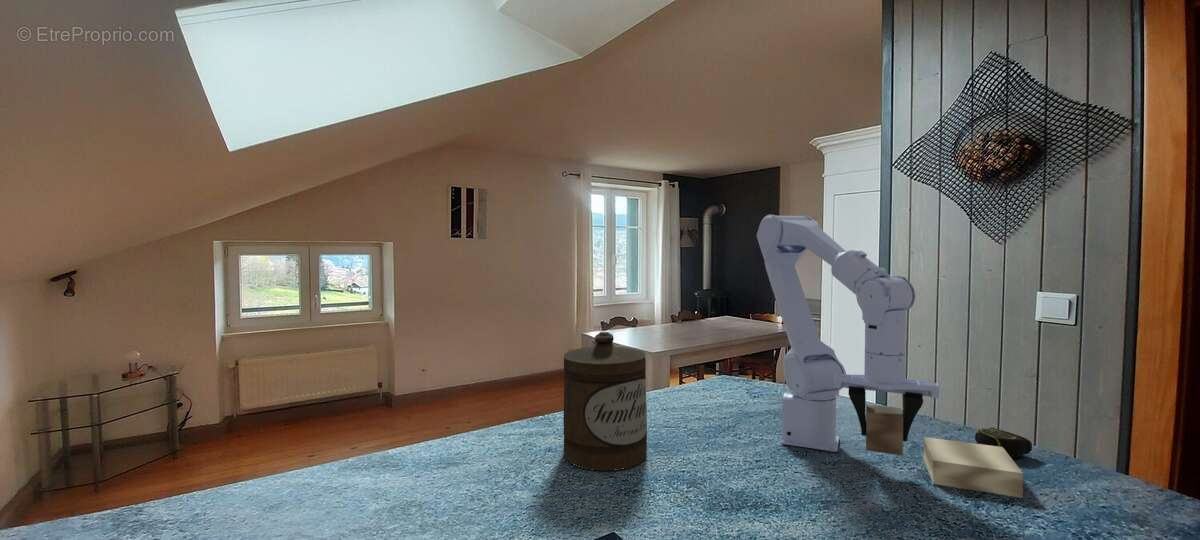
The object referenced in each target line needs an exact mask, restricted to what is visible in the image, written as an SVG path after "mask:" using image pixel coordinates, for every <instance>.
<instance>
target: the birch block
mask: <svg viewBox="0 0 1200 540" xmlns="http://www.w3.org/2000/svg"><path fill="white" fill-rule="evenodd" d="M923 460H924V464H925V466H926V468H927V471H928V474H929V477H930V480H931V483H932V484H933V485H938V486H944V487H951V488H957V489H963V490H969V491H970V490H971V491H975V492H976V491H977V492H983V493H990V494H994V495H995V494H996V495H1002V496H1009V497H1014V498H1021V499H1023V498H1024V495H1023V494H1024V472H1023V471H1022V470H1021V468H1019V467H1020V466H1018V464H1016V462H1015V461H1014V460H1013V458H1011V457H1010V456H1009V455H1008V453H1007V452H1006V451H1005V449H1004V448H1003V447H998V446H990V445H982V444H977V443H973V442H966V441H959V440H958V441H957V440H952V439H951V440H949V439H943V438H934V437H928V436H927V437H925V436H923Z"/></svg>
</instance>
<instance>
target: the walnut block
mask: <svg viewBox="0 0 1200 540" xmlns="http://www.w3.org/2000/svg"><path fill="white" fill-rule="evenodd" d="M865 415H866V436H865V450H866V451H870V452H877V453H883V454H888V455H896V456H901V457H902V456H903V455H904V441H903V409H902V408H901V407H895V406H886V405H877V404H866V403H865Z"/></svg>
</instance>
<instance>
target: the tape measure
mask: <svg viewBox="0 0 1200 540" xmlns="http://www.w3.org/2000/svg"><path fill="white" fill-rule="evenodd" d="M974 439H975V442H976V444H982V445H990V446H998V447H1003V448H1004V449H1005V451H1006V452H1007V453H1008V455H1009V456H1010V457H1011V458H1012V459H1013V458H1020V457H1023V456H1025V455H1027V454H1030V453H1031V452H1032V451H1033V443H1032V441H1031V440H1029V439H1028V438H1025V437H1023V436H1021V435H1018V434H1015V433H1012V432H1010V431H1005V430H1002V429H999V428H995V427H989V428H985V427H984V428H979V429H978V430H977V432H975V436H974Z"/></svg>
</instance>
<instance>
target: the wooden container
mask: <svg viewBox="0 0 1200 540" xmlns="http://www.w3.org/2000/svg"><path fill="white" fill-rule="evenodd" d="M594 341H595V343H596V344H595V345H594V346H591V347H581V348H576V349H571V350H568V351H567V352H566V353H564V355H563V373H564V374H563V375H564V376H563V421H562V422H563V432H562V433H563V456H565V457H564V459H565V458H566V459H567V460H568V461H569V462H571V463H573V464H575V465H577V466H580V467H583V468H588V469H593V470H592V471H594V470H614V469H622V468H627V469H629V468H628V467H630V468H632V467H631V466H633V467H635V466H634V465H636V466H638V465H639V464H638V463H640V462H641V461H642V462H643V461H644V460H645V459H646V458H647V454H648V442H647V441H648V438H647V437H648V408H647V406H648V405H647V404H648V403H647V376H646V375H647V373H646V370H647V369H646V366H647V360H646V357H647V356H646V353H645V352H644V351H642V350H639V349H634V348H630V347H622V346H615V345H614V343H613V342H614V335H613V334H612V333H610V332H608V331H601V332H599V333H597V334H596V335H595V336H594ZM566 459H565V460H566ZM567 460H566V461H567ZM568 461H567V462H568ZM569 462H568V463H569ZM642 462H641V463H642ZM571 463H570V464H571ZM641 463H640V464H641ZM637 464H638V465H637ZM577 466H576V467H577ZM580 467H579V468H580ZM583 468H582V469H583ZM622 470H623V469H622Z"/></svg>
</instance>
